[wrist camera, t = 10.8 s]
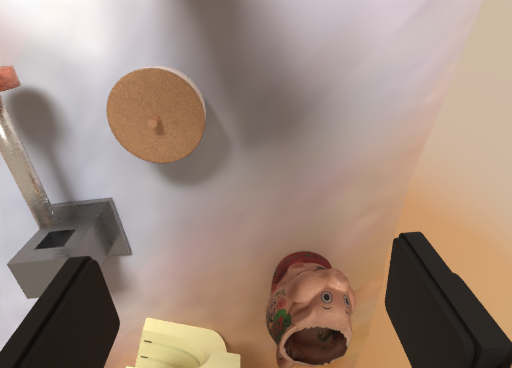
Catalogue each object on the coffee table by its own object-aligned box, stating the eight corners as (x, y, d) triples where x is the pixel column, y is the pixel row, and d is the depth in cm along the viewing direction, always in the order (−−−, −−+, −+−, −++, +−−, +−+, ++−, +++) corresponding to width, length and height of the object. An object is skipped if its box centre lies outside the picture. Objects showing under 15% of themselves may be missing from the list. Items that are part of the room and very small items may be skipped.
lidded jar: (166, 154, 48) (148, 186, 39) (110, 91, 43) (78, 111, 35) (227, 112, 45) (222, 136, 37) (174, 40, 41) (156, 49, 32)
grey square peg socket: (34, 206, 51) (-17, 253, 41) (111, 197, 51) (79, 243, 41) (59, 257, 56) (19, 310, 46) (130, 250, 55) (105, 302, 45)
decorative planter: (309, 323, 64) (324, 398, 52) (248, 310, 62) (248, 385, 50) (355, 242, 55) (385, 310, 43) (285, 225, 54) (296, 290, 41)
